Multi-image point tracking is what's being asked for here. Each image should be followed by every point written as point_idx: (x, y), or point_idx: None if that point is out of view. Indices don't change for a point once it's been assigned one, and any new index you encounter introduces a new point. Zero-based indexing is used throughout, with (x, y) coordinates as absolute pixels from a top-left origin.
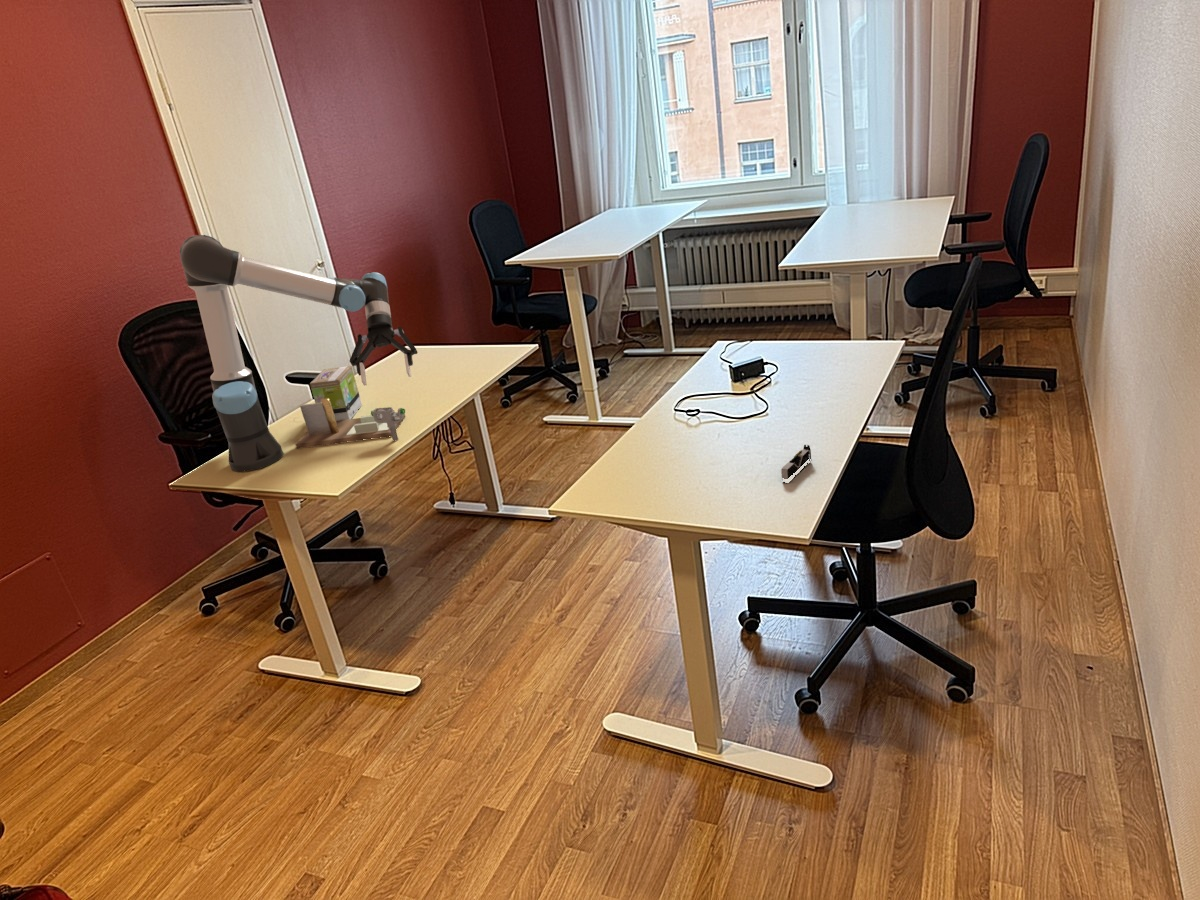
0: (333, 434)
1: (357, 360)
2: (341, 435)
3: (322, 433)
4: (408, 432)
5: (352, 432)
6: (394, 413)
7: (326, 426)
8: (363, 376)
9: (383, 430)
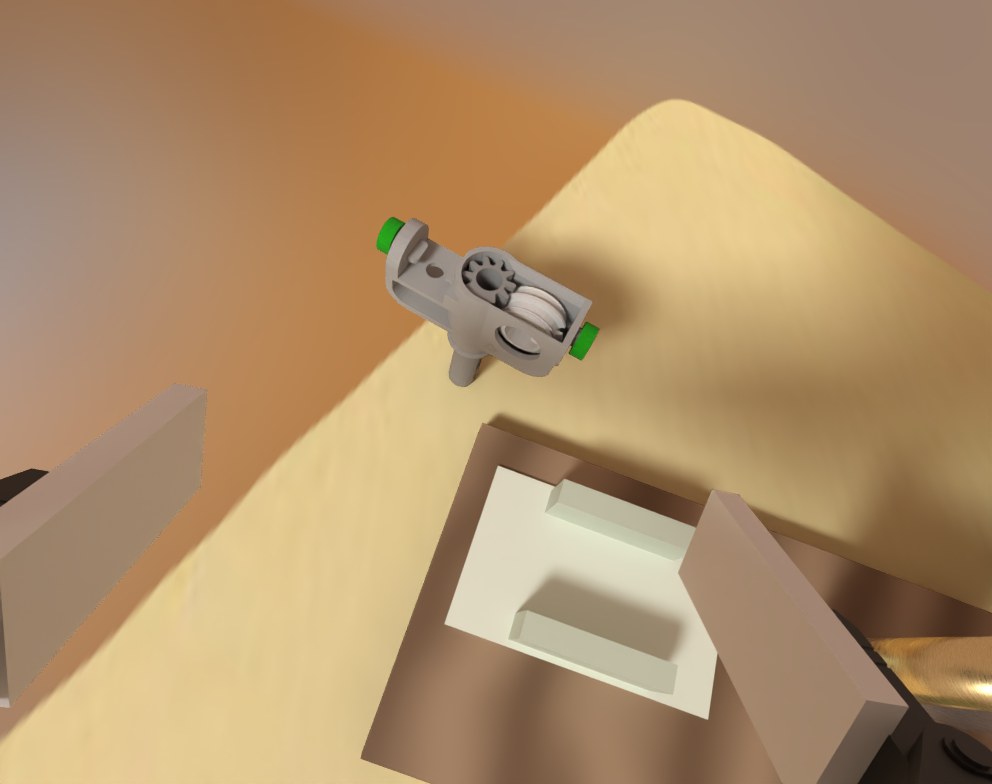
0: None
1: (985, 775)
2: None
3: None
4: (386, 434)
5: None
6: (447, 288)
7: None
8: (739, 524)
9: (521, 474)
